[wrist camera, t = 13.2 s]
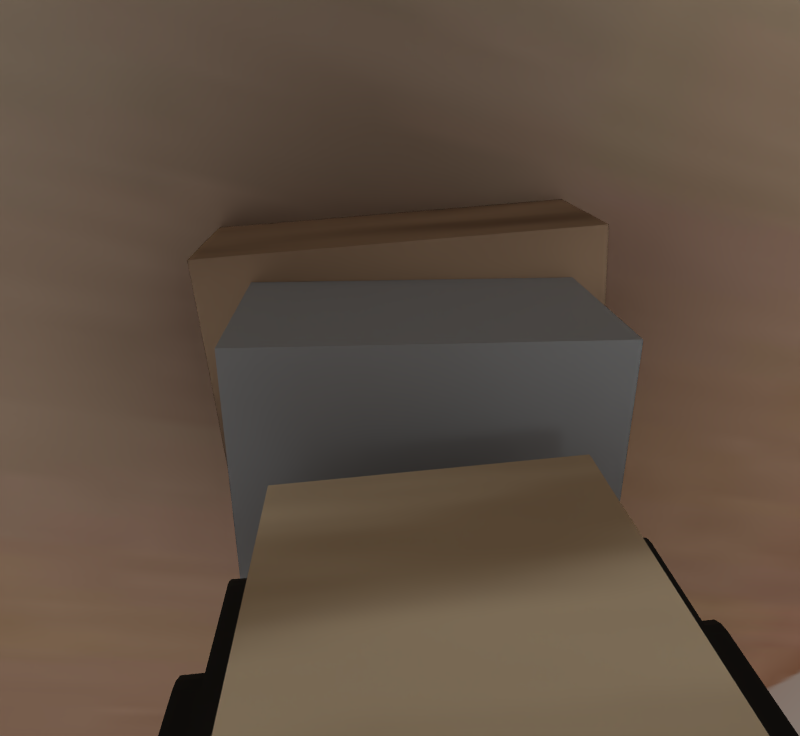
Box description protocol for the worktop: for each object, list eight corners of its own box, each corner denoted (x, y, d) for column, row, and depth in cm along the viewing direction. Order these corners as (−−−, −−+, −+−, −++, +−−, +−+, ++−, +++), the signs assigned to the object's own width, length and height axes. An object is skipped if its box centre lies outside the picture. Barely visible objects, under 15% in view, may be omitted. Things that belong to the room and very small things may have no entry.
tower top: (251, 282, 15) (214, 348, 11) (572, 277, 15) (643, 339, 11) (274, 550, 17) (251, 677, 14) (546, 540, 18) (596, 660, 14)
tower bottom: (222, 225, 18) (187, 260, 14) (558, 197, 18) (608, 224, 15) (271, 510, 21) (253, 597, 18) (553, 483, 22) (593, 564, 18)
